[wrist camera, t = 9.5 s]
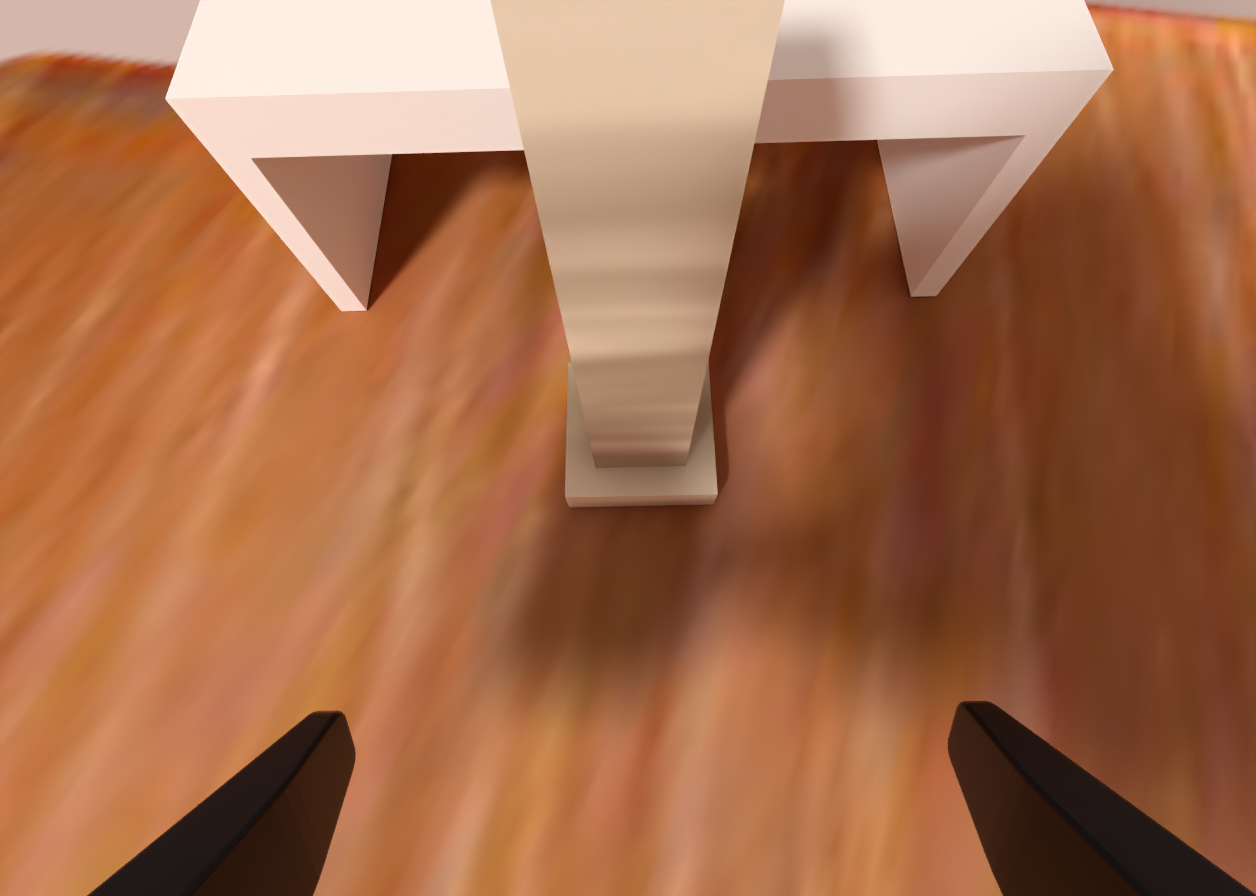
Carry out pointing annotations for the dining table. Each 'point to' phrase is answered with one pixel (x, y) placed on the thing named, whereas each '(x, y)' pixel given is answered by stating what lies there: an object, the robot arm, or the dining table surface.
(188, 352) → the dining table surface
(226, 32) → the white footstool bench
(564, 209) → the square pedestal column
